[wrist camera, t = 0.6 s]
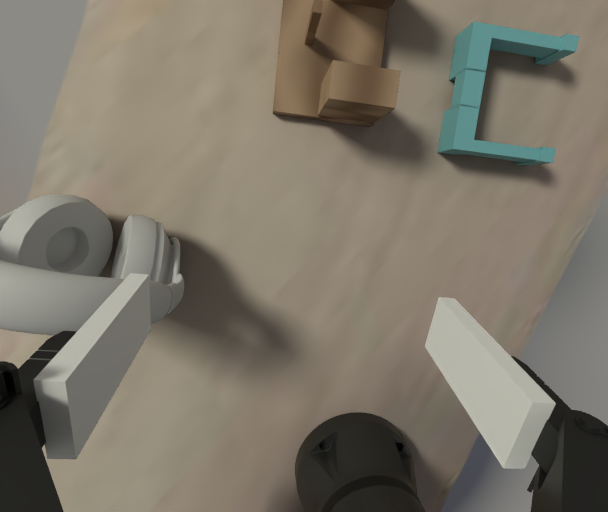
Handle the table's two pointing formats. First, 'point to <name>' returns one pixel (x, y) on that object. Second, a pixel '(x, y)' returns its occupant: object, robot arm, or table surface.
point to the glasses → (470, 82)
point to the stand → (334, 61)
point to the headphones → (78, 264)
